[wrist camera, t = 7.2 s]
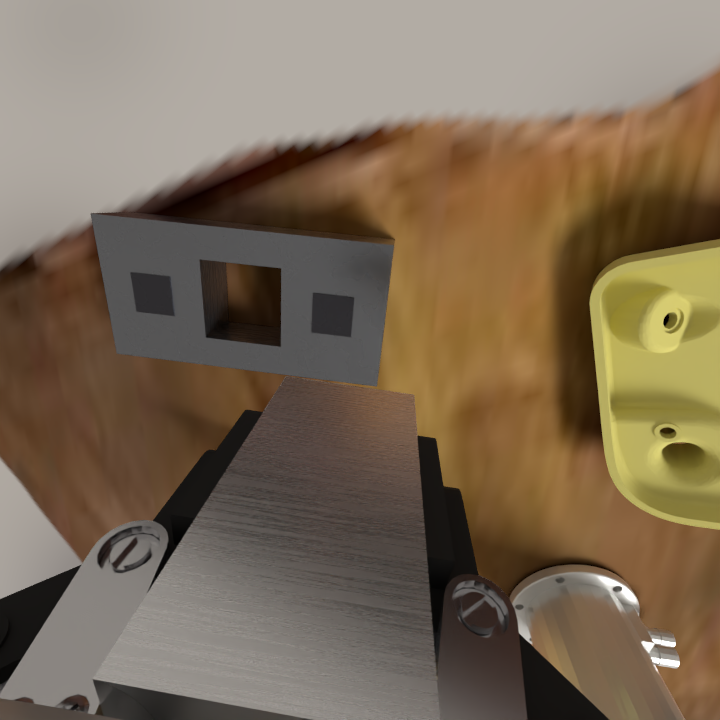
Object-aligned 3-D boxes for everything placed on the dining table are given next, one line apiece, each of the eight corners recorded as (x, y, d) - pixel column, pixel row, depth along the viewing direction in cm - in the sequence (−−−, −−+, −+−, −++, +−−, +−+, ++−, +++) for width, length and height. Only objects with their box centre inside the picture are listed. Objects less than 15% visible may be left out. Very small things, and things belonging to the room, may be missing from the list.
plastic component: (585, 269, 24) (819, 230, 19) (591, 251, 30) (772, 216, 24) (609, 512, 30) (794, 541, 24) (611, 459, 36) (761, 471, 30)
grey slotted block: (394, 239, 27) (393, 245, 23) (379, 364, 31) (376, 386, 27) (131, 212, 28) (89, 213, 24) (149, 336, 32) (115, 353, 28)
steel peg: (414, 394, 11) (442, 742, 4) (394, 494, 13) (389, 873, 6) (285, 376, 12) (93, 679, 4) (282, 477, 13) (137, 823, 6)
